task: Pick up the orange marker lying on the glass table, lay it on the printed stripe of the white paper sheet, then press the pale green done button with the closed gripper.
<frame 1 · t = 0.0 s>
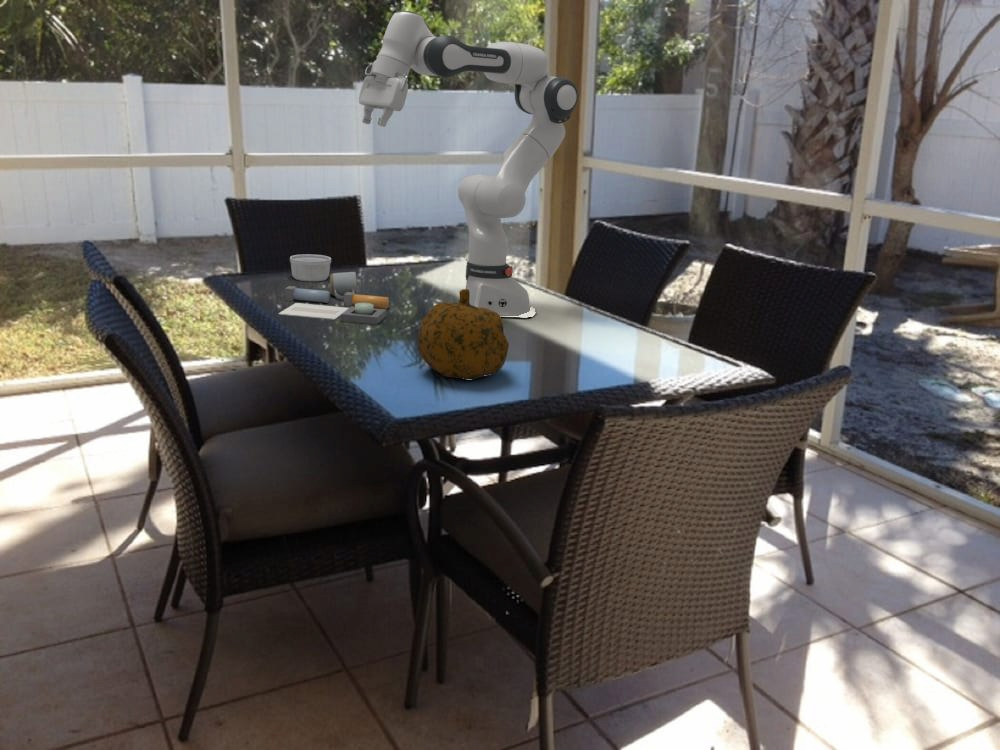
hand: (373, 124, 245), 52 cm above the table, fingers open, 8 cm apart
decorative pumpkin: (462, 374, 217), on the table
button: (364, 308, 260), point 3 cm above the table, slide at 0.0 cm
marker blue: (311, 301, 277), on the table
ceramic mug: (344, 297, 286), on the table
button base: (363, 318, 260), on the table
paper: (314, 311, 265), on the table
ramekin: (310, 279, 309), on the table
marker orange: (370, 307, 274), on the table
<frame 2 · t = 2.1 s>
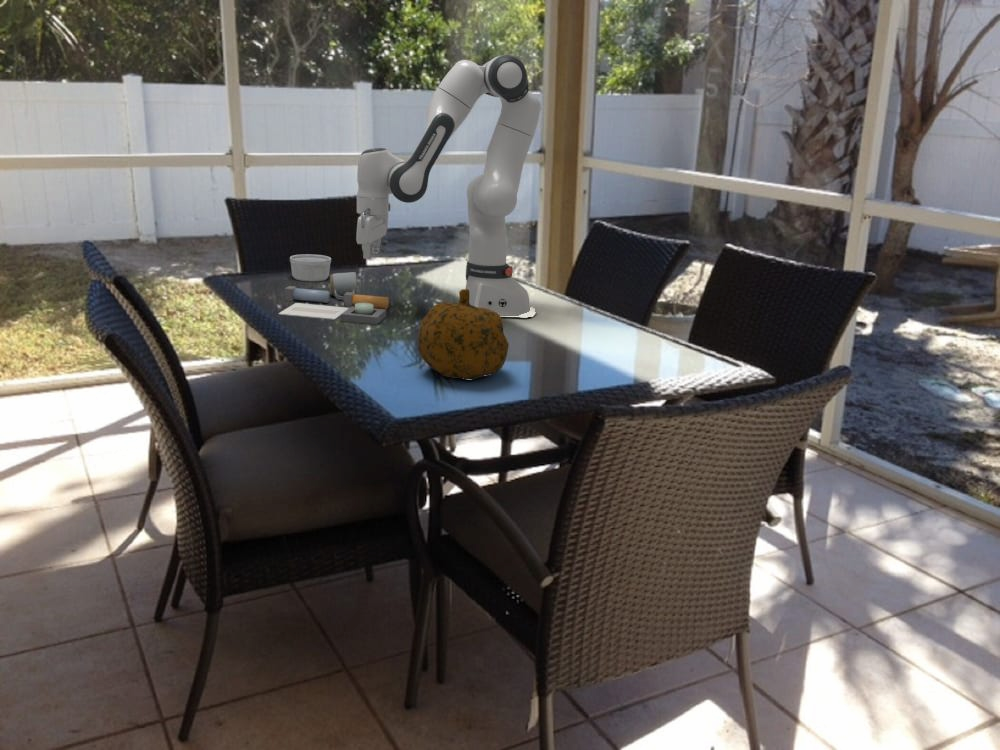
hand: (371, 255, 270), 15 cm above the table, fingers open, 8 cm apart
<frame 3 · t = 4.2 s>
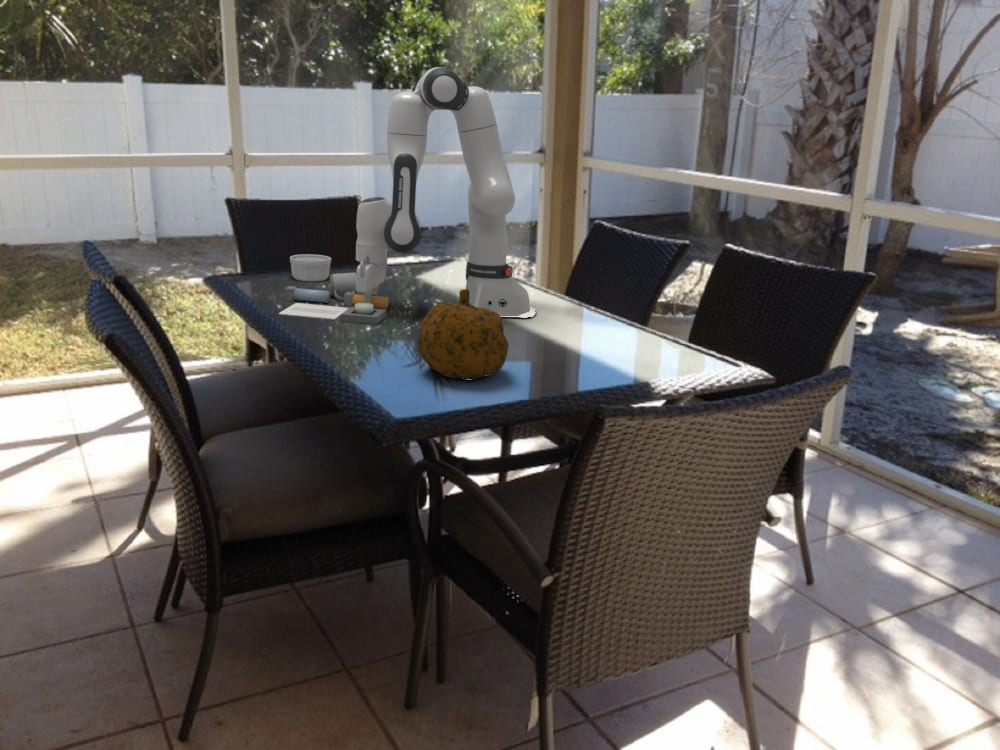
hand: (370, 302, 274), 2 cm above the table, fingers closed on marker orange, 3 cm apart
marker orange: (370, 307, 274), on the table, touching gripper
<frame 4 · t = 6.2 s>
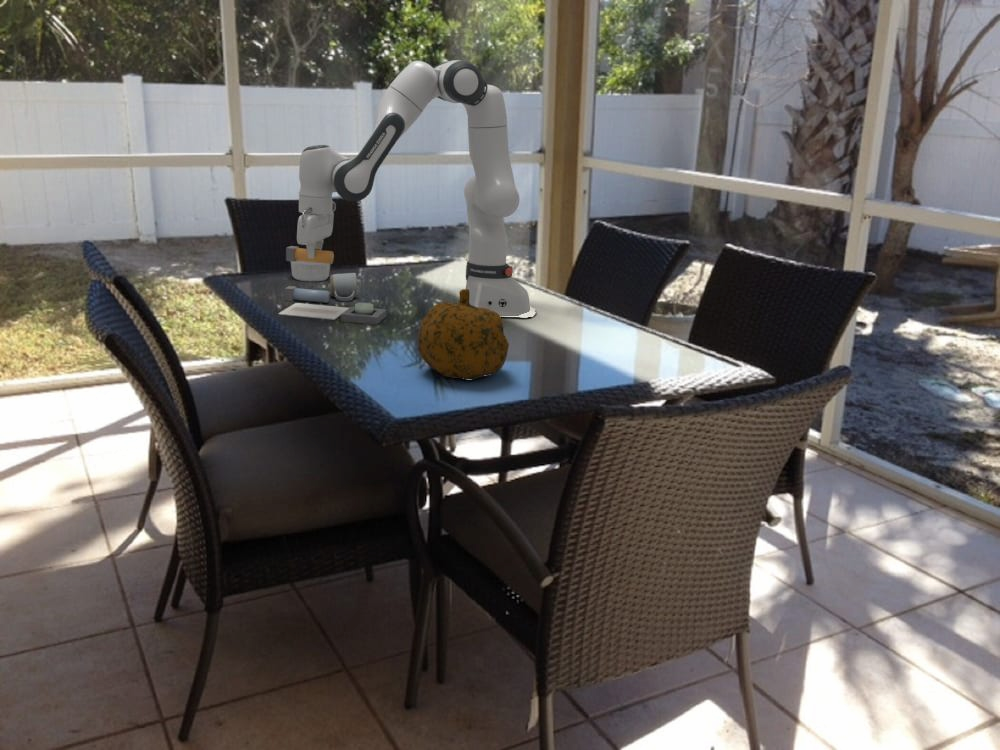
hand: (314, 256, 261), 16 cm above the table, fingers closed on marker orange, 3 cm apart
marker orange: (314, 262, 261), point 14 cm above the table, touching gripper
when the fingers open (3 cm above the table, at t = 8.7 s): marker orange drops 1 cm, resting on paper.
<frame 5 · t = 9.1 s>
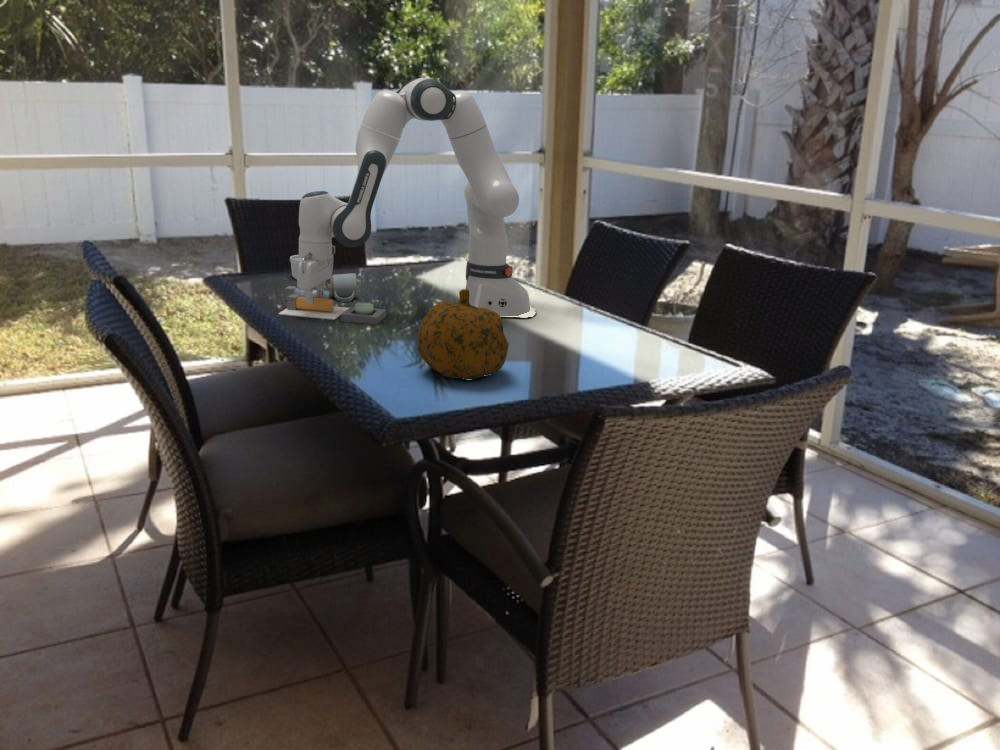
hand: (314, 300, 264), 3 cm above the table, fingers open, 7 cm apart
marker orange: (314, 310, 265), resting on paper
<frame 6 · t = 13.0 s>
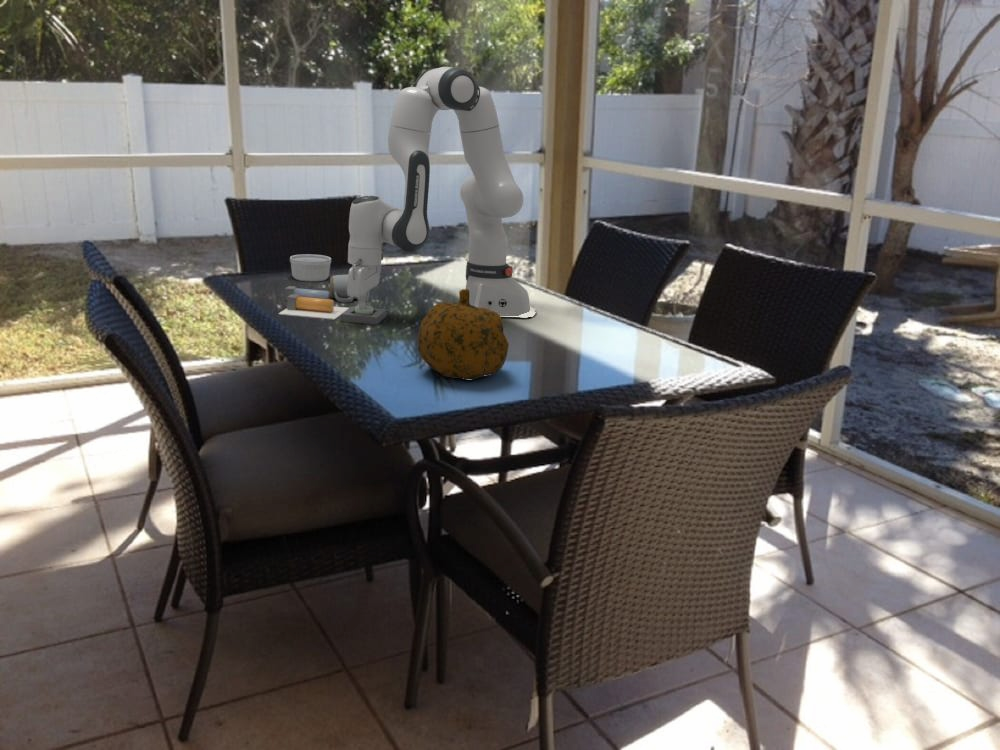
hand: (363, 306, 259), 3 cm above the table, fingers closed, pressing on button
button: (364, 311, 260), point 2 cm above the table, slide at 0.7 cm, touching gripper
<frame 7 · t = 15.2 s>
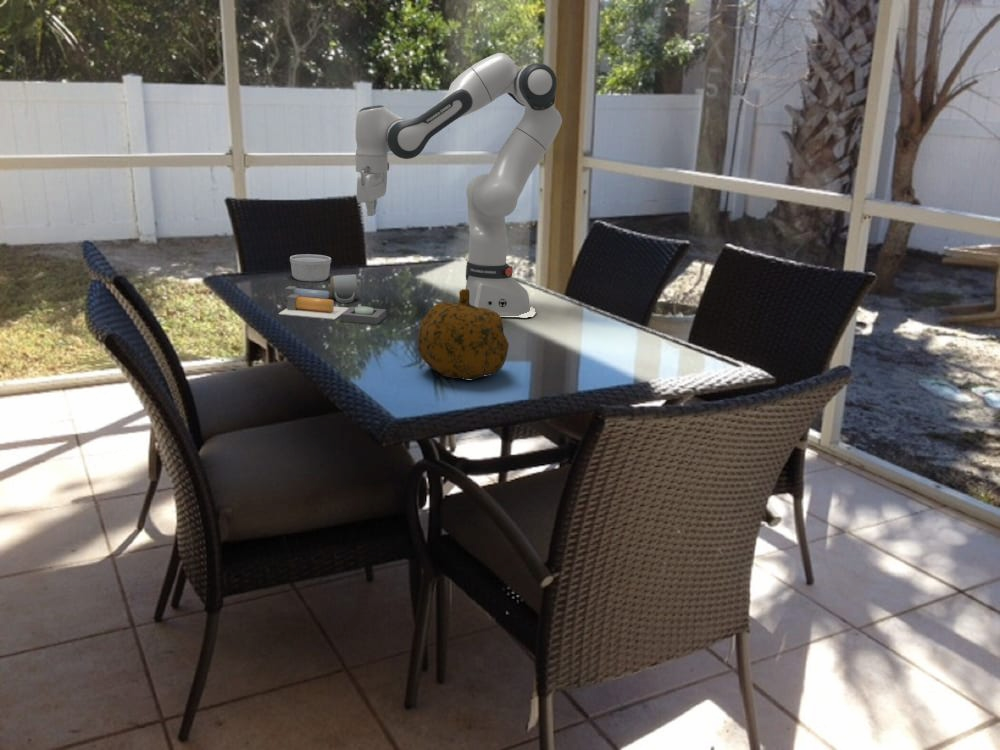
hand: (371, 215, 268), 26 cm above the table, fingers closed
button: (364, 312, 260), point 2 cm above the table, slide at 1.1 cm
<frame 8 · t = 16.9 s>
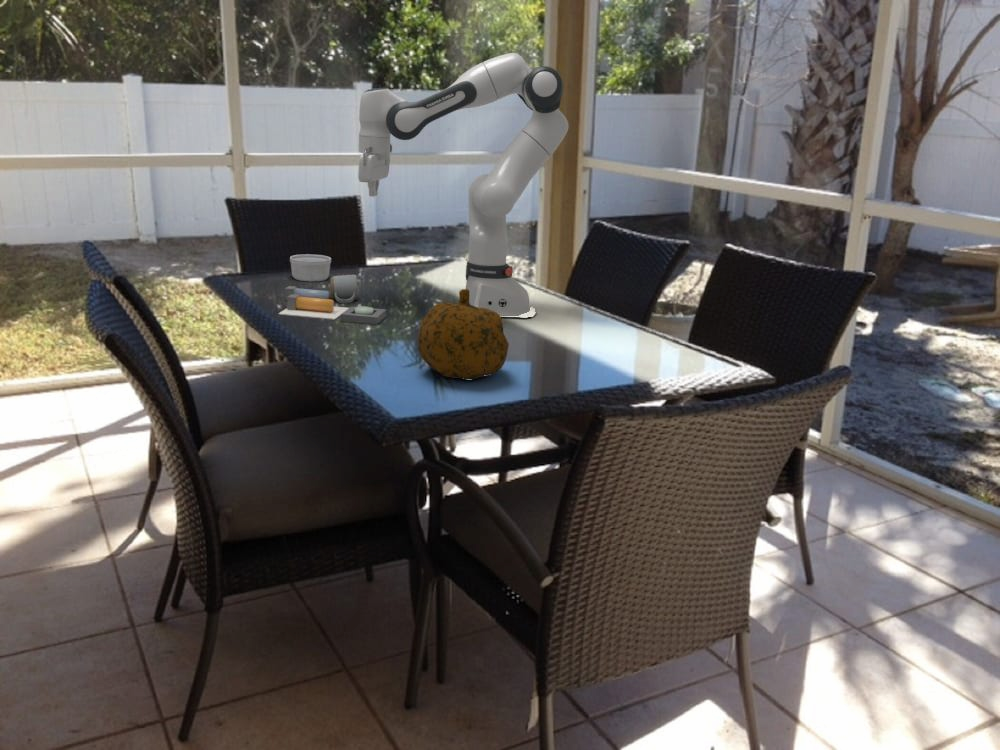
hand: (373, 196, 273), 31 cm above the table, fingers closed
at the end: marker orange inside the target area on the paper (0.0 cm from its centre), point 0.3 cm above the paper's base; button slide at 1.1 cm; the gripper is holding nothing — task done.
